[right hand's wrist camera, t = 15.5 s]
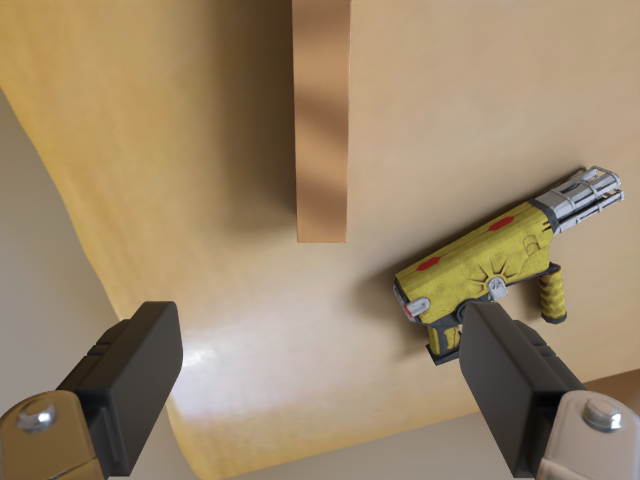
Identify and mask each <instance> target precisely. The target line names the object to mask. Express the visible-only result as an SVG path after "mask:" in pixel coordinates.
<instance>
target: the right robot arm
mask: <svg viewBox="0 0 640 480" xmlns="http://www.w3.org/2000/svg"><path fill="white" fill-rule="evenodd" d="M182 361H183V347H182V340H181V333H180V325H179V318H178V311H177V306H176V304H175V303H174V302H173V301H146V302H144V303H143V304H142V305H141V306H140V308H139V309H138V310H137V311H136V313H135V314H134V315H133V316H132V318H131V319H124V320H122V321H121V322H119V323H117V324H116V325H114V326H113V327H111V328H110V329H108V330H107V331H106V332H105V333H104V334H103V335H102V337H101V338H100V339H99V340H98V341H97V342H96V345H94V346H93V347H92V348H91V349H90V350H89V352H88V353H87V356H84V357H83V358H82V360H81V361H80V362H79V363H78V364H77V365H76V366H75V368H74V369H73V370H72V371H71V372H70V373H69V375H68V376H67V377H66V378H65V379H64V380H63V381H62V383H61V384H60V385H59V386H58V387H57V388H56V390H54V391H48V392H44V393H40V394H37V395H34V396H32V397H29V398H27V399H25V400H23V401H21V402H19V403H18V404H16V405H15V406H13V407H12V408H10V409H9V410H8V411H7V412H6V413H4V415H3V416H2V417H1V418H0V480H108V478H109V476H130V474H131V472H132V469H133V468H134V466H135V464H136V461H137V459H138V457H139V455H140V453H141V451H142V449H143V447H144V445H145V443H146V441H147V439H148V437H149V435H150V433H151V431H152V429H153V427H154V424H155V422H156V420H157V418H158V416H159V414H160V412H161V410H162V408H163V406H164V404H165V402H166V400H167V398H168V396H169V394H170V392H171V390H172V388H173V385H174V383H175V381H176V379H177V377H178V375H179V373H180V370H181V367H182ZM459 361H460V367H461V371H462V374H463V376H464V378H465V380H466V382H467V384H468V386H469V388H470V390H471V392H472V394H473V396H474V398H475V400H476V402H477V404H478V406H479V408H480V410H481V412H482V414H483V416H484V418H485V420H486V422H487V424H488V426H489V428H490V431H491V433H492V435H493V437H494V439H495V441H496V443H497V445H498V447H499V449H500V451H501V453H502V455H503V457H504V459H505V461H506V463H507V465H508V467H509V469H510V471H511V473H512V475H513V477H514V478H534V479H535V480H640V418H639V417H638V416H637V415H636V414H635V413H634V412H633V411H632V410H631V409H630V408H628V407H627V406H625V405H624V404H622V403H621V402H619V401H617V400H615V399H613V398H611V397H608V396H606V395H603V394H600V393H597V392H592V391H588V390H587V389H586V388H585V387H584V386H583V384H582V383H581V382H580V381H579V380H578V379H577V378H576V376H575V375H574V374H573V373H572V372H571V371H570V370H569V368H568V367H567V366H566V365H565V364H564V363H563V362H562V360H561V359H560V358H559V357H556V354H555V352H554V351H553V350H552V349H551V348H550V347H549V346H547V343H546V342H545V341H544V340H543V339H542V338H541V336H540V335H539V334H538V333H537V332H536V331H535V330H533V329H532V328H530V327H529V326H527V325H525V324H524V323H522V322H521V321H519V320H512V319H511V318H510V316H509V315H508V314H507V313H506V311H505V310H504V309H503V308H502V307H501V305H500V304H499V303H497V302H469V303H467V305H466V308H465V313H464V320H463V327H462V334H461V341H460V348H459Z"/></svg>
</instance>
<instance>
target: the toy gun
mask: <svg viewBox="0 0 640 480" xmlns="http://www.w3.org/2000/svg"><path fill="white" fill-rule="evenodd" d="M597 170H600V171H603V172H606V174H604V175H602V176H600V177H599V176H597V175H596V172H595V171H597ZM592 177H595V178H596V179H595V180H593V181H591V182H589V183H587V182H586V180H588V179H590V178H592ZM606 184H607V185H606ZM604 185H605V186H604ZM619 185H621V183H620V179H619V177H618V176H617V174H615V173H614V172H611V171H608V170H605V169H603V168H600V167H597V166H593V167H591V168H590V169H589V170H587V171H585V172H584V173H582V174H580V175H578V176H576V177H572V178H571V179H570V180H569V181H567V182H565V183H564V184H562V185H560V186H558V187H556V188H554V189H551V190H549V192H547V193H545V194H543V195H541V196H539V197H537V198H531V199H529V200H528V201H526V202H524V203H523V204H521V205H519V206H517V207H515V208H514V209H512V210H510V211H508V212H506V213H505V214H503V215H501V216H499V217H497V218H496V219H494V220H492V221H490V222H488V223H487V224H485V225H483V226H481V227H479V228H478V229H476V230H474V231H472V232H470V233H469V234H467V235H465V236H463V237H461V238H460V239H458V240H456V241H454V242H452V243H451V244H449V245H447V246H445V247H443V248H442V249H440V250H438V251H436V252H434V253H433V254H431V255H429V256H427V257H425V258H424V259H422V260H420V261H418V262H416V263H415V264H413V265H411V266H409V267H407V268H406V269H404V270H402V271H400V272H398V273H397V274H395V276H396V280H395V281H394V288H393V293H394V295H395V297H396V299H397V301H398V303H399V305H400V306H401V308H402V310H403V311H404V313H405V314H406V316H407V317H408V319H409V321H413V322H416V323H417V324H420V325H424V326H427V329H428V334H429V340H430V344H428V345H426V348H427V350H428V352H429V354H430V355H431V357H432V359H433V361H434V363H435V365H436V366H437V365H440V364H443V363H446V362H449V361H451V360H454V359H457V358H459V348H460V341H461V332H460V331H458V325H459V324H463V320H464V313H465V308H466V305H467V303H469V302H491V300H492V301H494V302H495V301H496V300H498V299H500V298H502V297H504V296H506V295H508V292H507V289H506V287H508V286H511V285H513V284H516V283H519V282H522V281H525V280H528V279H531V278H533V277H536V276H538V277H539V279H538V284H539V286H540V287H541V288H540V290H539V291H540V295H541V304H542V305H543V308H542V315H541V317H542V318H543V319H544V320H545V321H546V322H548V323H552V324H558V323H561V322H563V321H565V319H566V318H567V312H566V311H565V306H564V301H565V299H564V297H563V296H562V295H563V293H564V290H563V288H562V285H563V280H562V279H561V278H560V277H561V266H560V265H557V264H554V263H551V262H549V259H548V254H549V244H550V242H551V240H552V238H553V236H555V235H557V234H558V233H562V232H563V231H564V230H565V229H567V228H569V227H571V226H573V225H575V224H576V225H577V224H578V223H579V222H581V221H582V220H584V219H586V218H588V217H590V216H592V215H594V214H596V213H599V212H601V211H602V209H604V208H606V207H608V206H610V205H612V204H614V203H616V202H618V201H622V200H624V193H623V191H621V190H619V189H617V186H619ZM602 186H603V187H602ZM613 188H614V191H616V193H614V194H613V195H612V194H609V193H607V191H609V190H611V189H613ZM602 195H605V196H608V197H607V198H604V197H603V196H602Z"/></svg>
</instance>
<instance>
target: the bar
mask: <svg viewBox="0 0 640 480" xmlns="http://www.w3.org/2000/svg"><path fill="white" fill-rule="evenodd" d="M292 34H293V77H294V119H295V162H296V204H297V242H298V243H346V231H347V183H348V135H349V88H350V40H351V0H292Z"/></svg>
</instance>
